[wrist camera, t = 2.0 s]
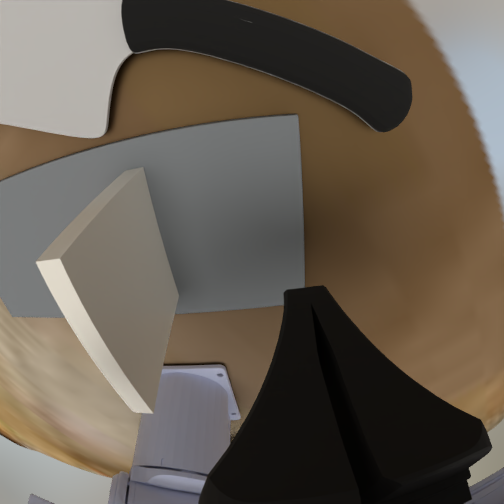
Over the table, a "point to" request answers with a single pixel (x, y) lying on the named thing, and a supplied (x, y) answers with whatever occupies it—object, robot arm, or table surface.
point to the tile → (117, 287)
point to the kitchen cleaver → (178, 38)
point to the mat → (175, 212)
